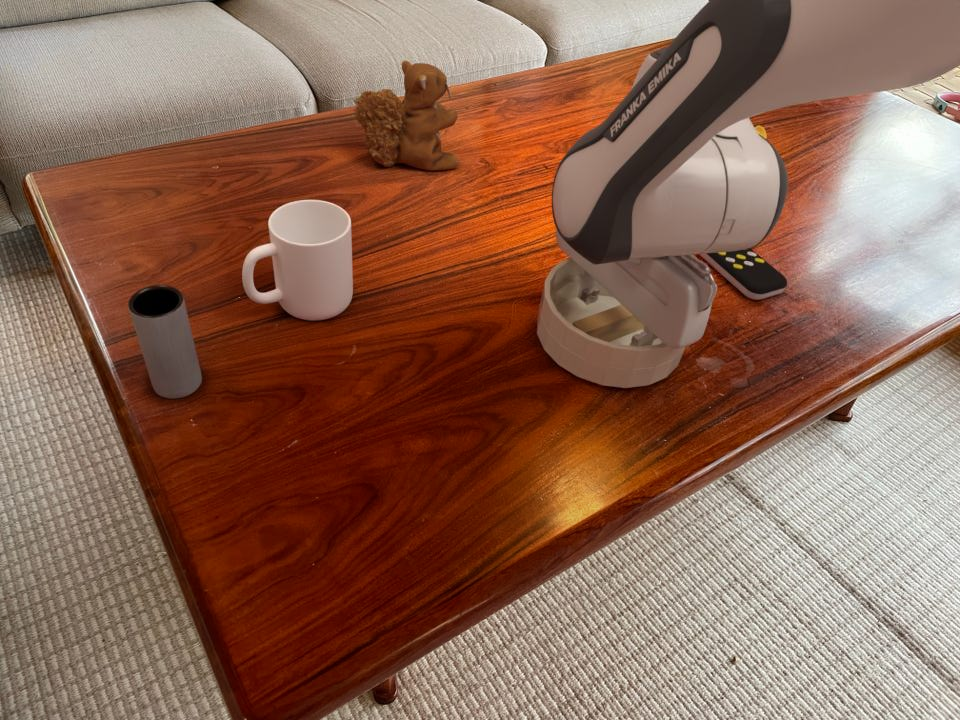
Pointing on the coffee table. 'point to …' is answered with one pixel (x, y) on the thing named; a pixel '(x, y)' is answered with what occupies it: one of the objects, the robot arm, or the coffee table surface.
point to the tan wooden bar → (610, 324)
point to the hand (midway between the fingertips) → (612, 324)
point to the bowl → (591, 354)
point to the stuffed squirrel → (409, 120)
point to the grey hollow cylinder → (166, 340)
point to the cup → (306, 260)
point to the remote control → (748, 273)
